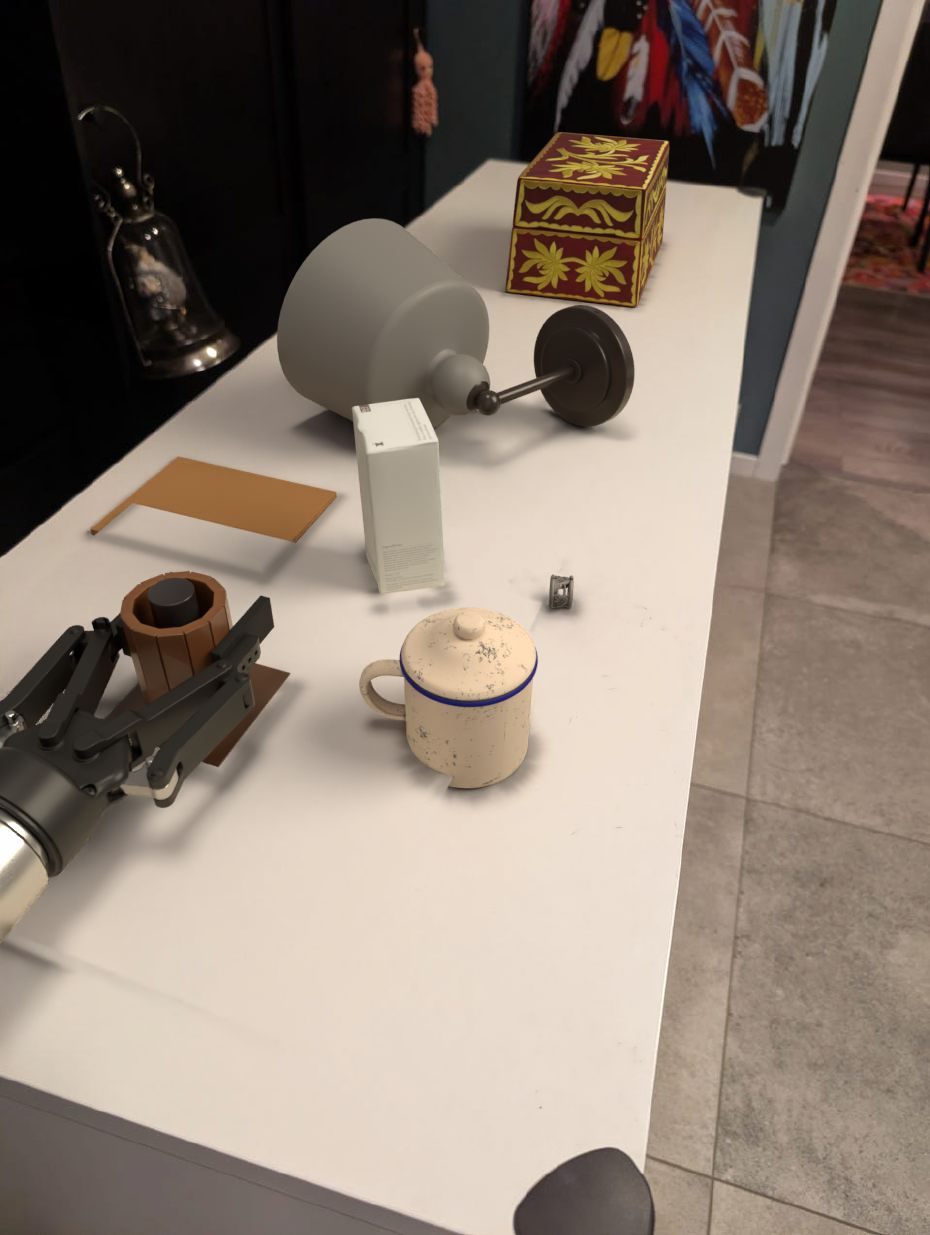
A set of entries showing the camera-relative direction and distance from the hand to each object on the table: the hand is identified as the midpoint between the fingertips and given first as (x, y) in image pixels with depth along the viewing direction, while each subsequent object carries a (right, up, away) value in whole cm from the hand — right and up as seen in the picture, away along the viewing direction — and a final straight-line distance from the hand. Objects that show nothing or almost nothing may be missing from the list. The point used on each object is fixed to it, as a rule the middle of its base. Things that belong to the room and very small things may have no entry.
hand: (222, 599), depth 70 cm
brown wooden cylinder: (-2, -7, 0) cm, 7 cm away
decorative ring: (+26, 0, +11) cm, 28 cm away
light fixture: (+17, +18, +34) cm, 42 cm away
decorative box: (+36, +51, +72) cm, 95 cm away
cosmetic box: (+12, +2, +14) cm, 19 cm away
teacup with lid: (+16, -10, -1) cm, 19 cm away
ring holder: (-2, -8, +1) cm, 9 cm away
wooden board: (-6, +8, +21) cm, 23 cm away
